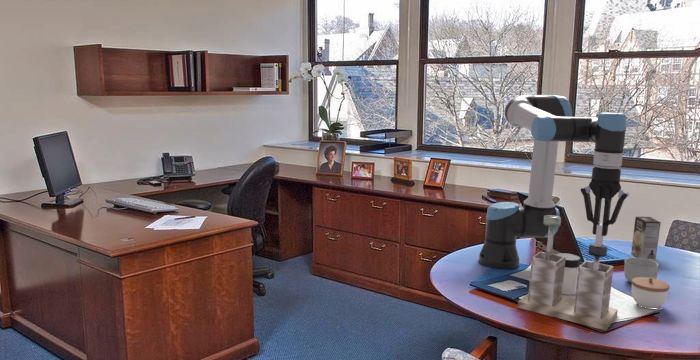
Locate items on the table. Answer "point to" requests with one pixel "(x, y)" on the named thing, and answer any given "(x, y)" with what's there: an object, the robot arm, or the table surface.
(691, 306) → the table surface
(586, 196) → the robot arm
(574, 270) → the jar
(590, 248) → the plunger
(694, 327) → the table surface
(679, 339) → the table surface
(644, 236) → the coffee box
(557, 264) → the stand
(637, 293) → the lidded jar
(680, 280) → the table surface
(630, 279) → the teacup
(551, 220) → the plunger
